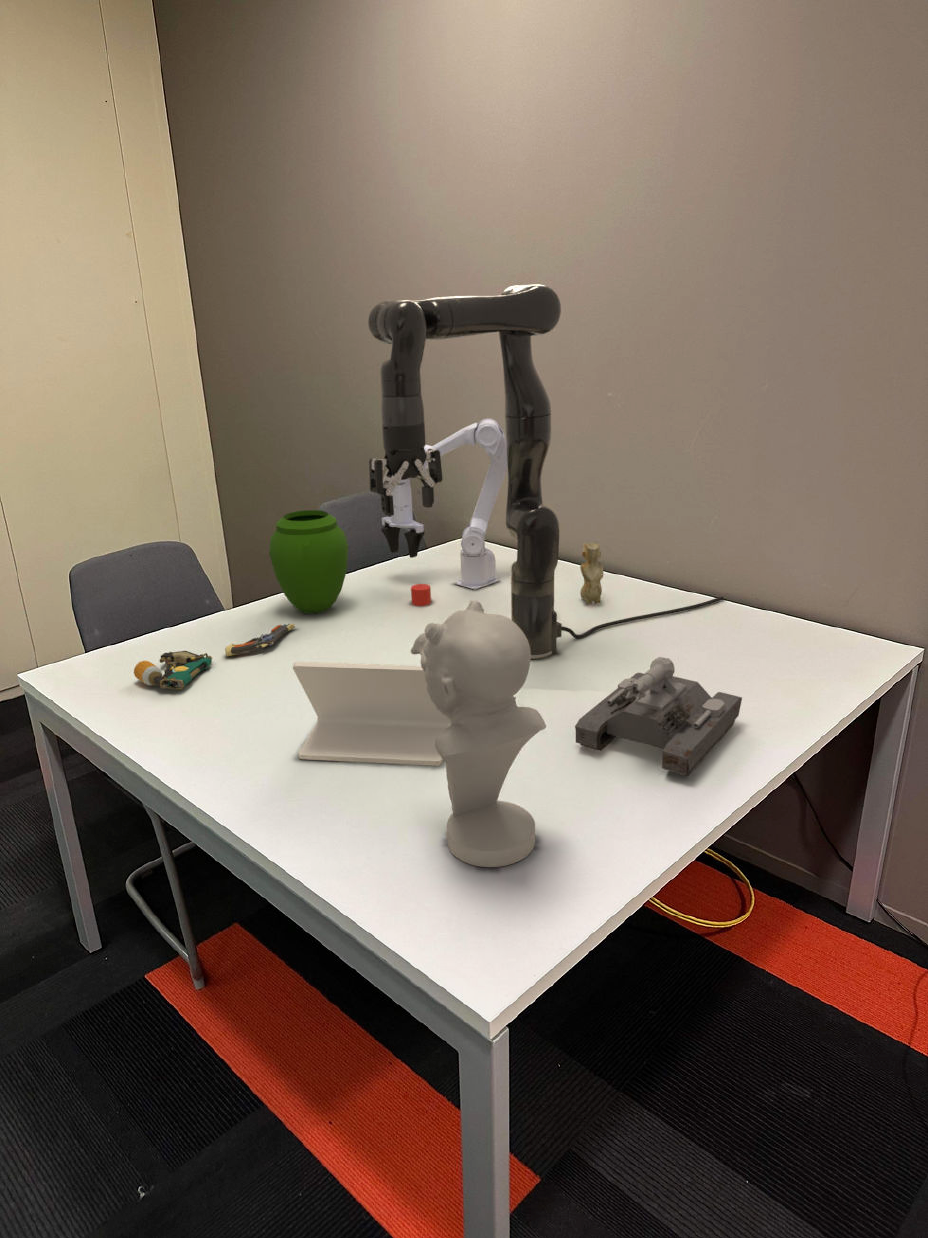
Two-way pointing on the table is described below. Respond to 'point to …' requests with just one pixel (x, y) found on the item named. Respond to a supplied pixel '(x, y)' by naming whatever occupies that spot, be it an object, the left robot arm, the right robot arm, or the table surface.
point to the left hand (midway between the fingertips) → (403, 554)
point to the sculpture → (591, 574)
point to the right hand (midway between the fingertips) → (408, 511)
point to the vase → (309, 559)
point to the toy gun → (259, 640)
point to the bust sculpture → (481, 729)
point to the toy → (661, 717)
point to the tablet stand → (370, 713)
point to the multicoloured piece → (172, 669)
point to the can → (421, 594)
